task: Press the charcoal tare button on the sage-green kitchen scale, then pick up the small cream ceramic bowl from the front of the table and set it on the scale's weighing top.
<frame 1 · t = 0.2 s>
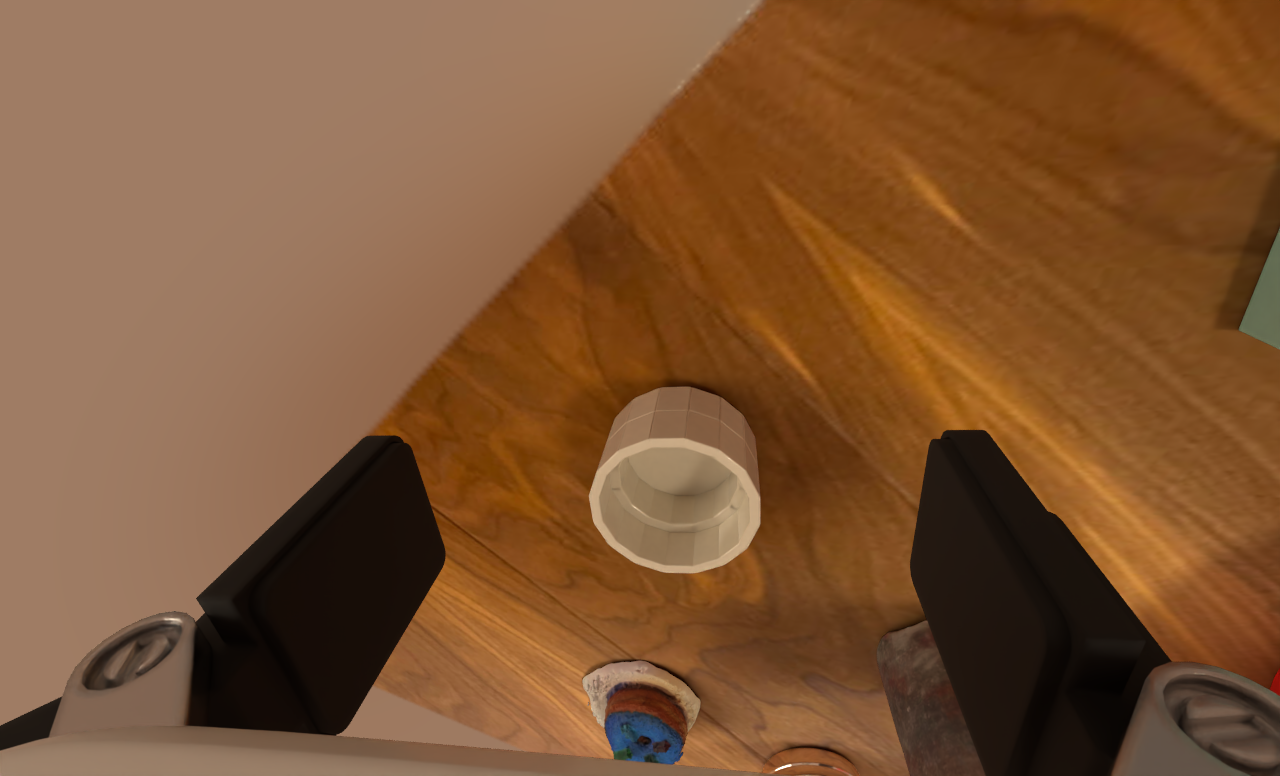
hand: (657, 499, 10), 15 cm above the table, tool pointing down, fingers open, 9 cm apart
water bottle: (809, 769, 39), on the table
bowl: (681, 444, 28), on the table
dessert: (642, 694, 38), on the table
candle: (944, 647, 32), on the table
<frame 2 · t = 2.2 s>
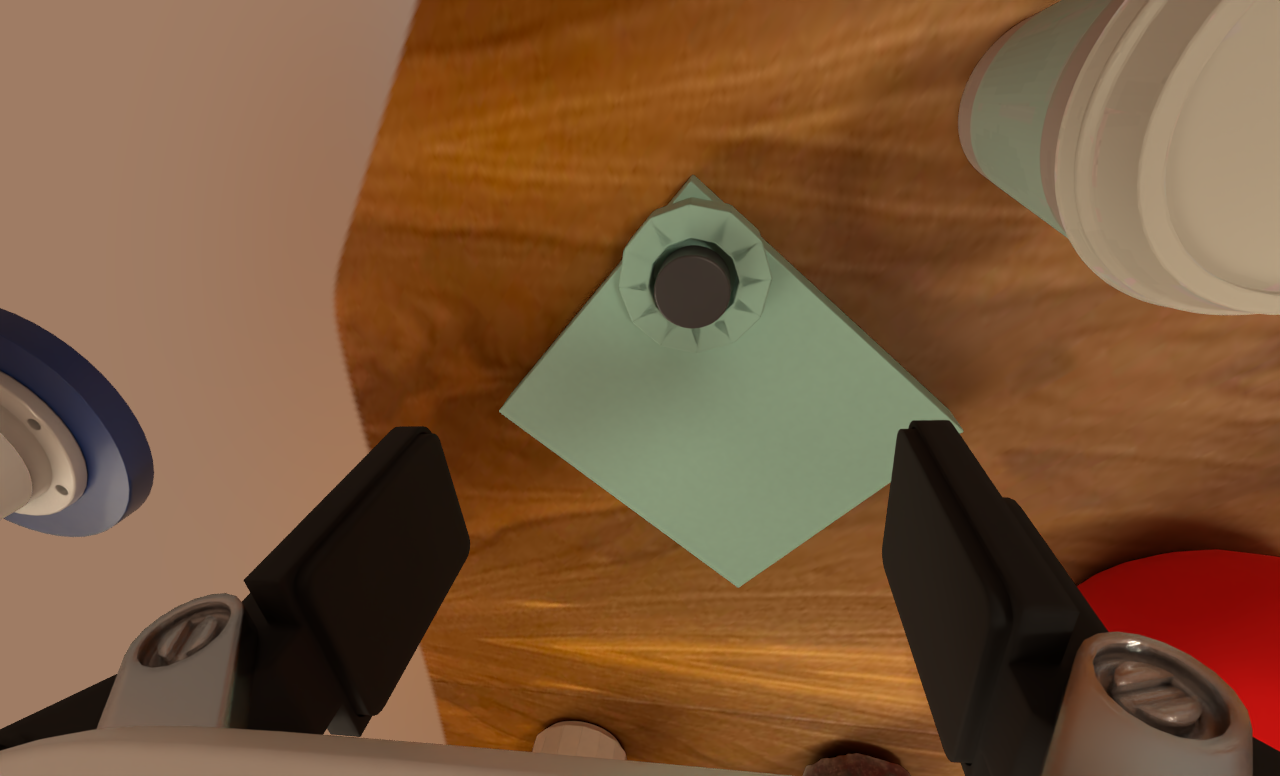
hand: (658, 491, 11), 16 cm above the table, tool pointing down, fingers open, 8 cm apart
vase: (1149, 619, 31), on the table
tare button: (692, 287, 21), point 4 cm above the table, slide at 0.1 cm
bowl: (582, 745, 43), on the table
candle: (854, 764, 40), on the table
scale: (719, 401, 28), on the table
coffee cup: (1042, 101, 20), on the table
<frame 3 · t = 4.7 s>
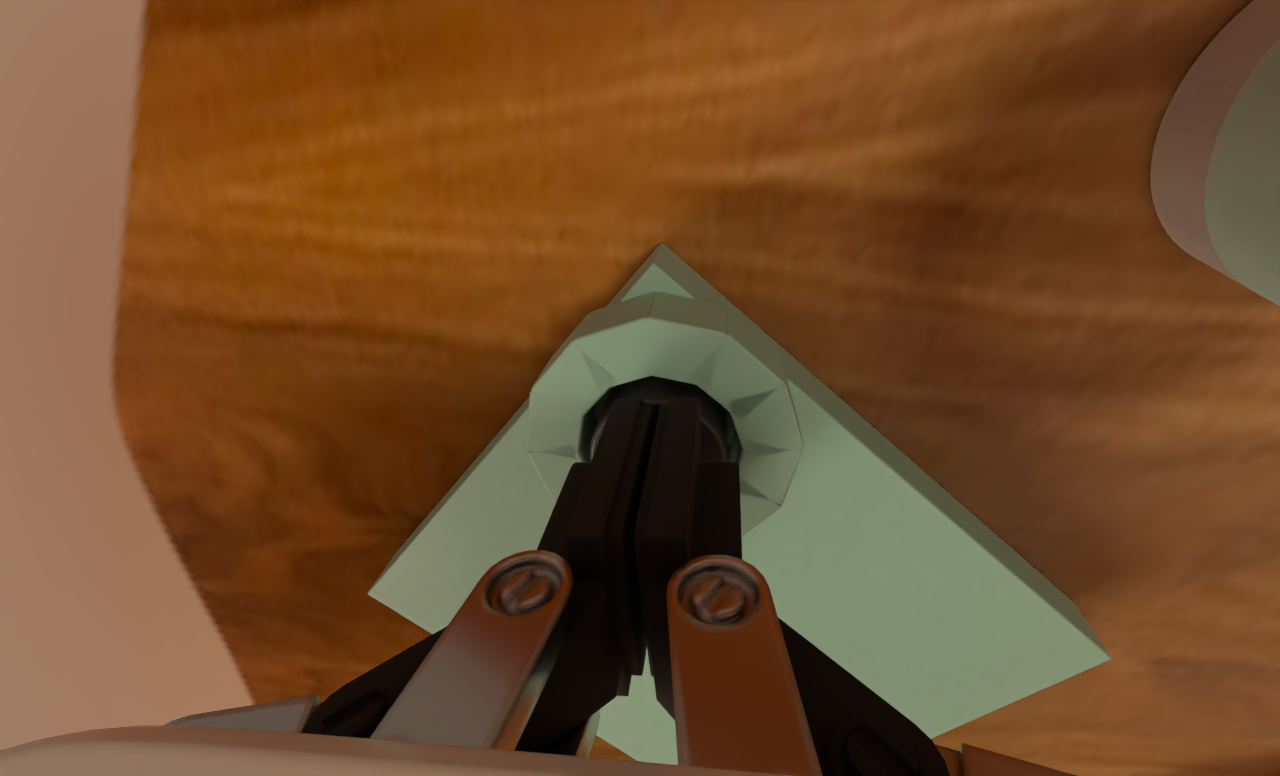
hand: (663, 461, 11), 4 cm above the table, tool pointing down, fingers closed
tare button: (660, 441, 12), point 3 cm above the table, slide at -0.6 cm, touching gripper
scale: (709, 574, 18), on the table
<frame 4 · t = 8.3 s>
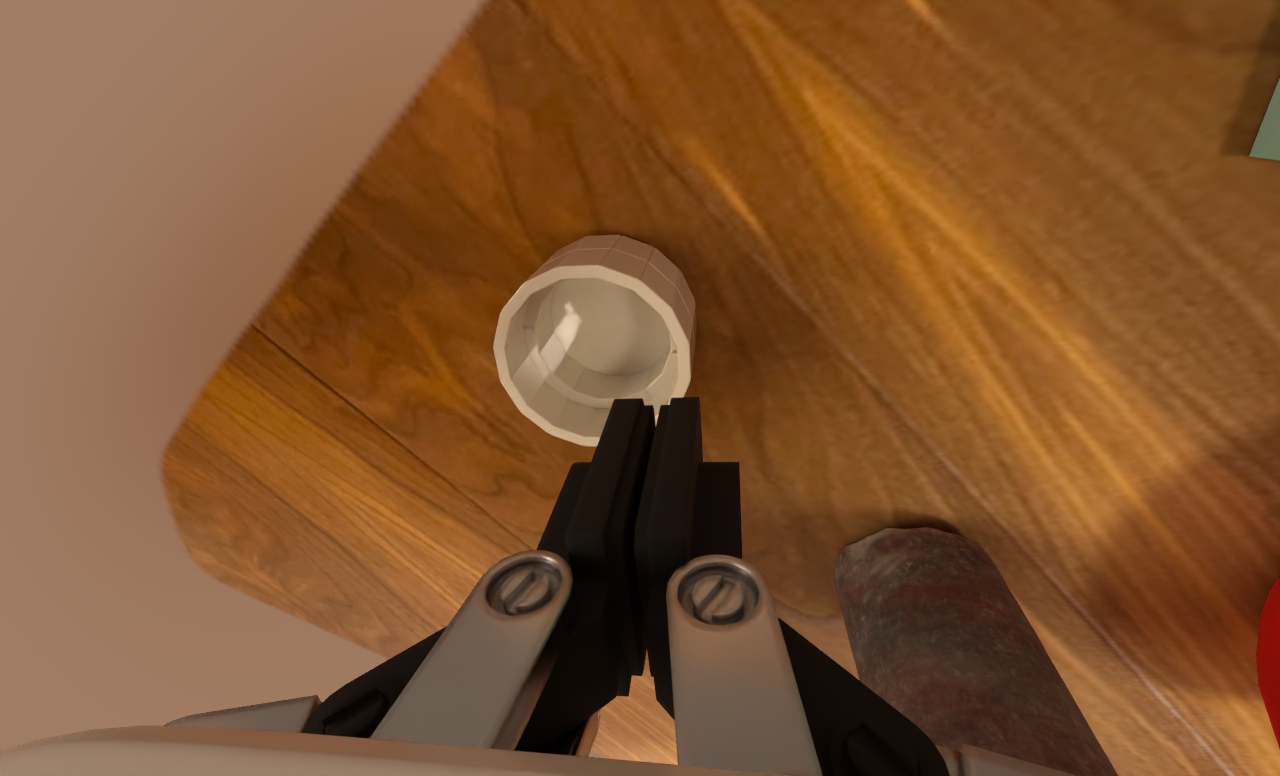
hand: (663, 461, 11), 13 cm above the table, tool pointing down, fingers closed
bowl: (614, 314, 25), on the table
candle: (909, 564, 29), on the table
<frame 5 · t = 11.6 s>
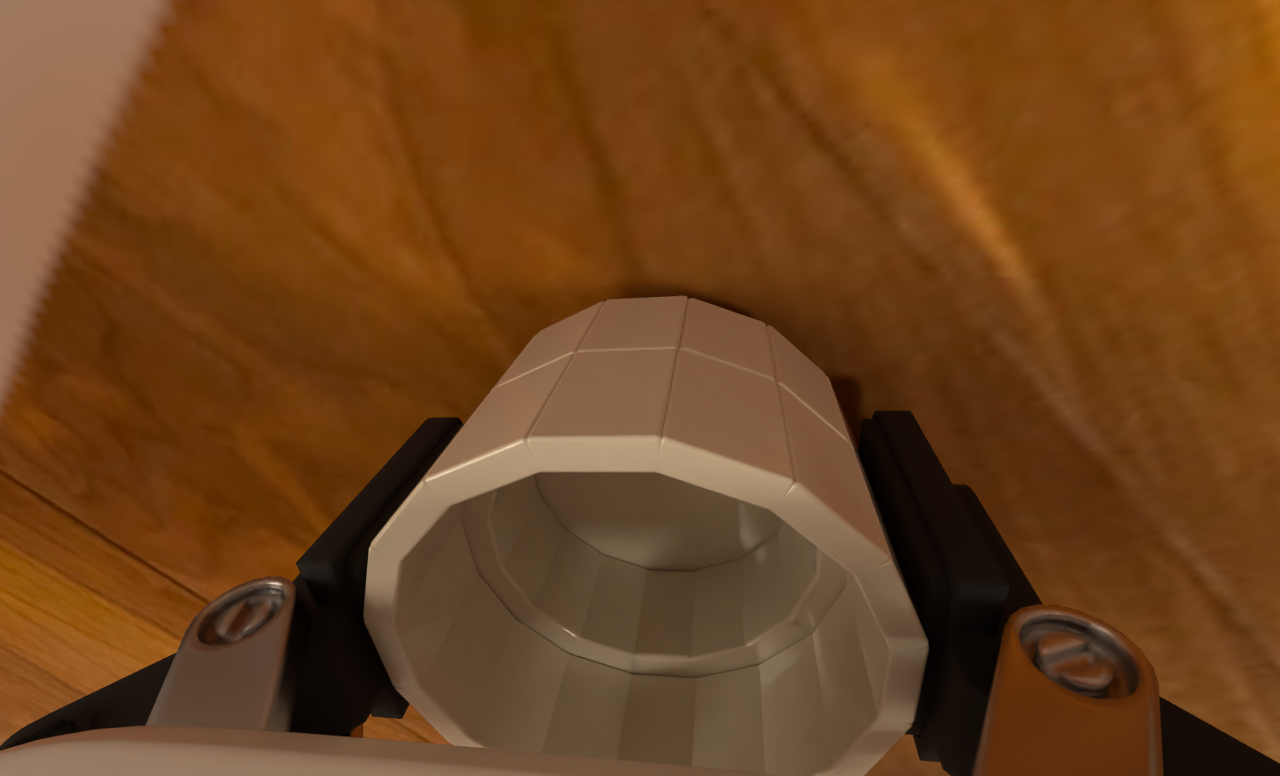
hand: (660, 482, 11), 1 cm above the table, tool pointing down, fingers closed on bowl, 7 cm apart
bowl: (665, 452, 12), on the table, touching gripper
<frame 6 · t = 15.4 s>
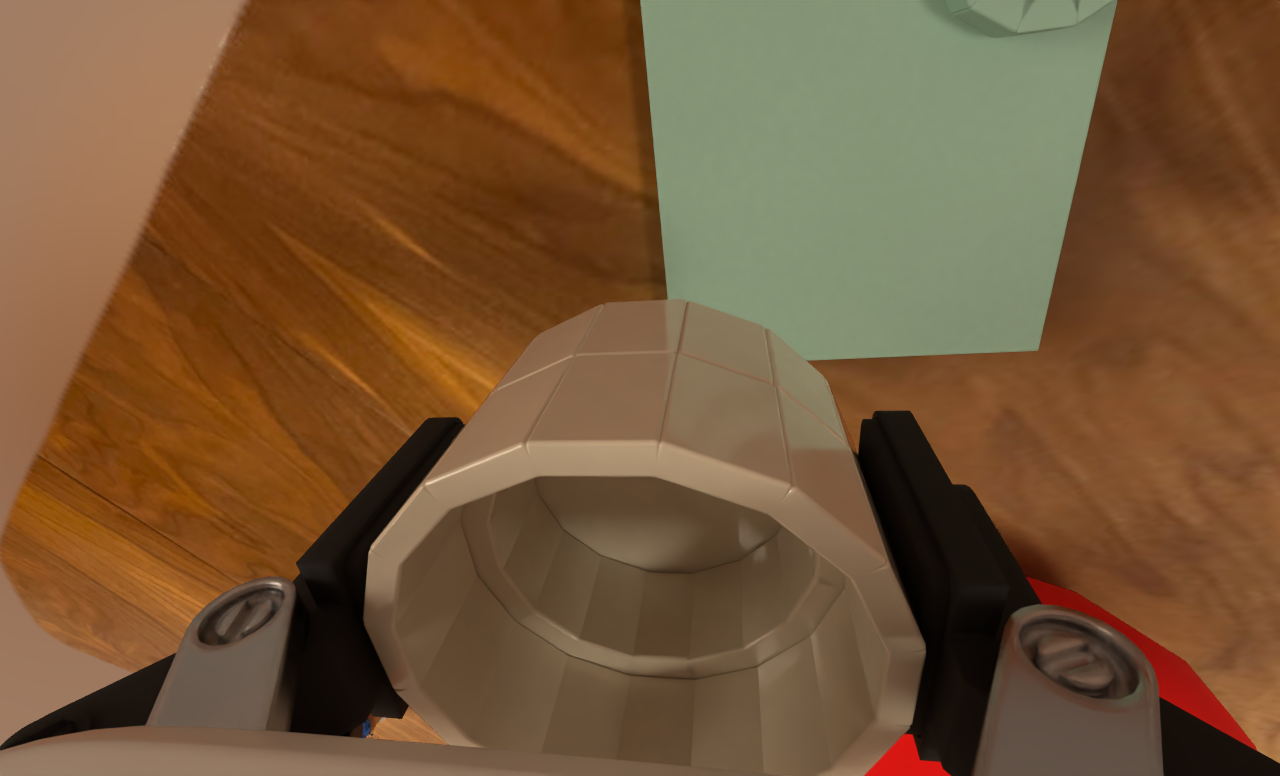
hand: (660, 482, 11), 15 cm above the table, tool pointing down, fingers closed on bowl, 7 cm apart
vase: (934, 630, 32), on the table
bowl: (664, 454, 12), point 14 cm above the table, touching gripper
scale: (849, 140, 21), on the table
when the fingers open (3 cm above the table, at t = 19.4 s): bowl stays where it is, resting on scale.
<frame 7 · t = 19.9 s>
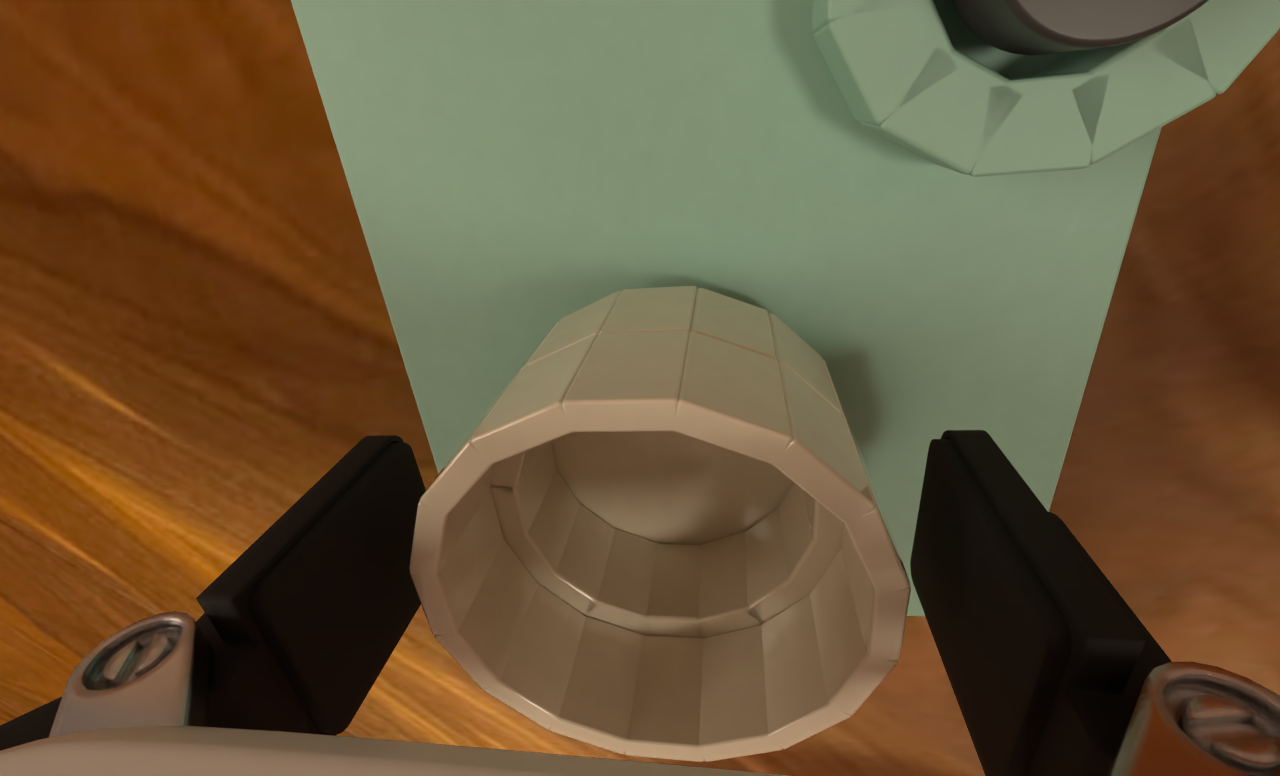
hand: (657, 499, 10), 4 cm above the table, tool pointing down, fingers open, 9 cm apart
bowl: (674, 432, 13), point 2 cm above the table, touching scale
scale: (717, 293, 13), on the table
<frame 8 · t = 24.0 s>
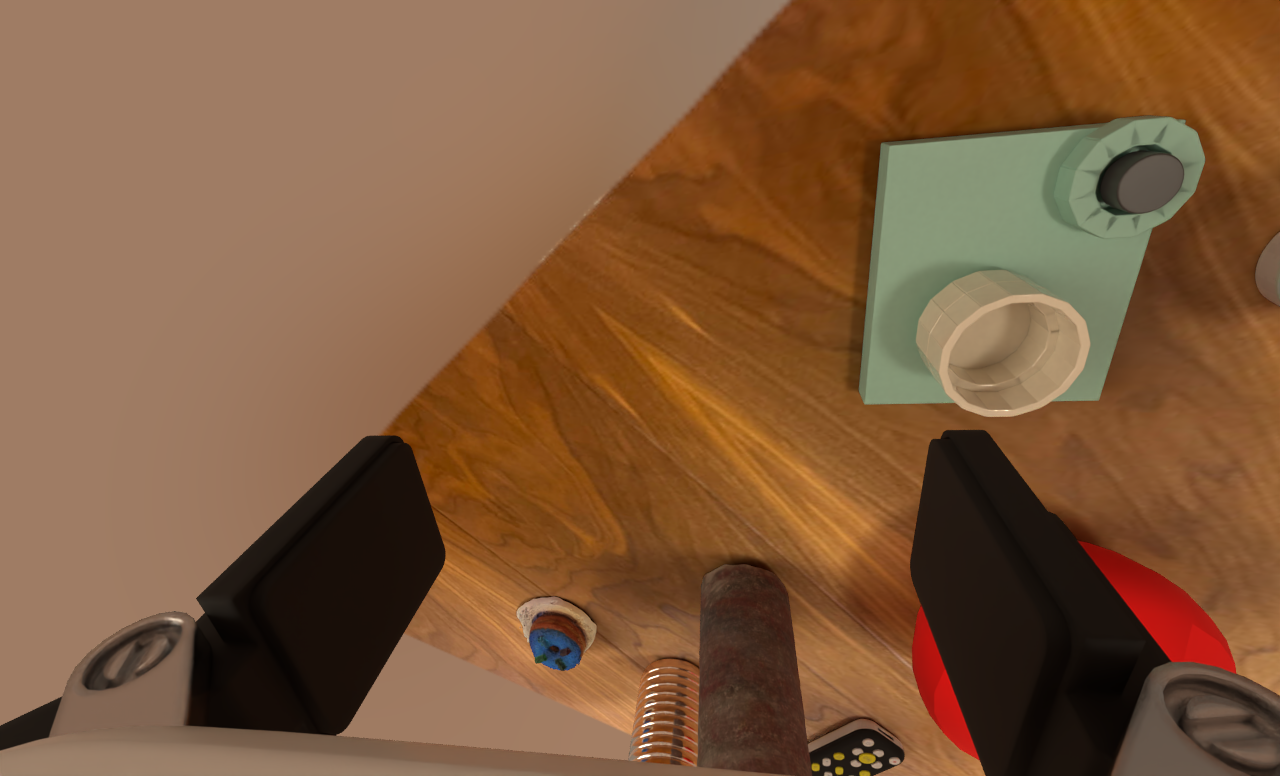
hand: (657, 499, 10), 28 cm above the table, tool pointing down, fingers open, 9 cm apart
vase: (1009, 584, 46), on the table
water bottle: (675, 676, 56), on the table
tare button: (1140, 182, 28), point 4 cm above the table, slide at 0.1 cm
bowl: (976, 324, 34), point 2 cm above the table, touching scale
dessert: (558, 622, 55), on the table
candle: (744, 583, 49), on the table
scale: (988, 273, 35), on the table
remote control: (835, 749, 58), on the table
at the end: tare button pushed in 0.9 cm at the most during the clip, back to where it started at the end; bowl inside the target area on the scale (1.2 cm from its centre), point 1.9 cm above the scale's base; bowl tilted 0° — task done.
